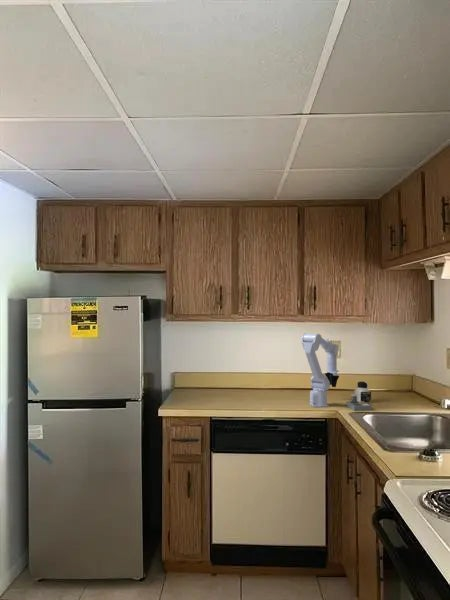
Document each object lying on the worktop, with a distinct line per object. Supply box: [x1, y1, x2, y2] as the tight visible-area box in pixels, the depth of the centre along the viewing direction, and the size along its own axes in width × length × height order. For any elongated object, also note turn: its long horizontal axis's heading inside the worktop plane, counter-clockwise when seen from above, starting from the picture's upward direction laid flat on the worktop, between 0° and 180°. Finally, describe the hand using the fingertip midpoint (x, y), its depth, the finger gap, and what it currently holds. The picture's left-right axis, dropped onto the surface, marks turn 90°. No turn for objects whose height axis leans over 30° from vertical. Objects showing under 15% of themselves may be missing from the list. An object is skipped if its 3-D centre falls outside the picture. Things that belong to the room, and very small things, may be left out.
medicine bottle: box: [354, 381, 372, 404], centre depth 293 cm, size 7×7×12 cm
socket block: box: [345, 400, 373, 412], centre depth 276 cm, size 10×13×3 cm
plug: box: [350, 393, 357, 403], centre depth 279 cm, size 3×3×7 cm
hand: (331, 385), depth 294 cm, fingers open, 7 cm apart
